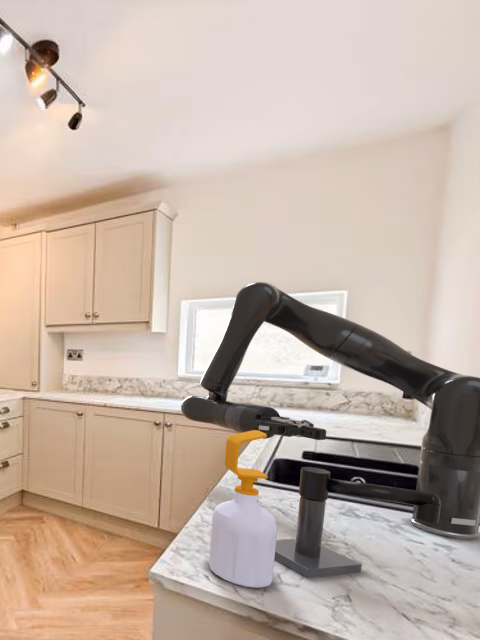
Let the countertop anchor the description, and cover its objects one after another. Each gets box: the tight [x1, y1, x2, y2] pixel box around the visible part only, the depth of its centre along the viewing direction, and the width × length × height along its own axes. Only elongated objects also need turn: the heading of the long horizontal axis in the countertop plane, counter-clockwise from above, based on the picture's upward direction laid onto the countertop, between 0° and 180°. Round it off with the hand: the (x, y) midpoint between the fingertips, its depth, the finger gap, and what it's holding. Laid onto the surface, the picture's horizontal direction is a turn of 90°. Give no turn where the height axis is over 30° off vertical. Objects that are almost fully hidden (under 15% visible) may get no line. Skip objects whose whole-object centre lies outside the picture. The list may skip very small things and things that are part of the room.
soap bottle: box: [208, 430, 279, 589], centre depth 70 cm, size 9×9×25 cm
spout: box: [298, 466, 441, 523], centre depth 72 cm, size 18×4×6 cm, turn 60°
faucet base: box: [274, 494, 362, 579], centre depth 76 cm, size 11×10×12 cm
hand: (323, 435), depth 85 cm, fingers closed
